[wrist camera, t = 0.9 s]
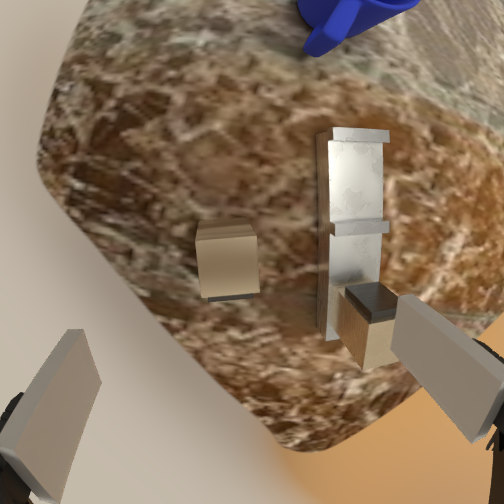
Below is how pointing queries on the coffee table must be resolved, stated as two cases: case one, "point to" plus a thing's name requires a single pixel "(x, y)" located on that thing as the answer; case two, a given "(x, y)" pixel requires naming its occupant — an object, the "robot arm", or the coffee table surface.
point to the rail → (353, 245)
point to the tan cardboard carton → (227, 259)
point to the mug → (344, 19)
